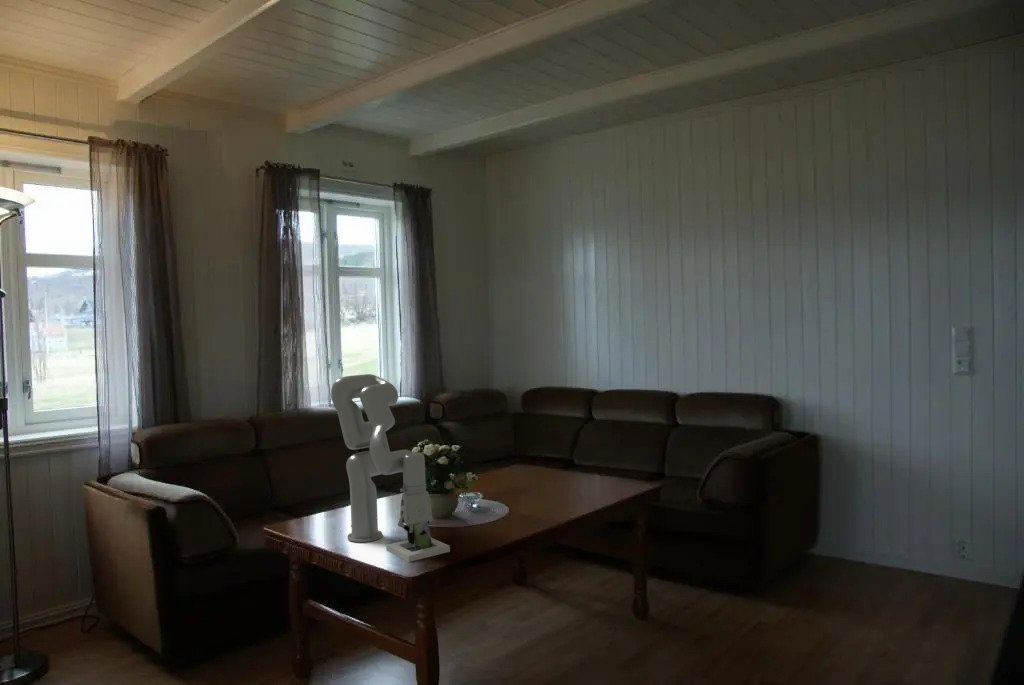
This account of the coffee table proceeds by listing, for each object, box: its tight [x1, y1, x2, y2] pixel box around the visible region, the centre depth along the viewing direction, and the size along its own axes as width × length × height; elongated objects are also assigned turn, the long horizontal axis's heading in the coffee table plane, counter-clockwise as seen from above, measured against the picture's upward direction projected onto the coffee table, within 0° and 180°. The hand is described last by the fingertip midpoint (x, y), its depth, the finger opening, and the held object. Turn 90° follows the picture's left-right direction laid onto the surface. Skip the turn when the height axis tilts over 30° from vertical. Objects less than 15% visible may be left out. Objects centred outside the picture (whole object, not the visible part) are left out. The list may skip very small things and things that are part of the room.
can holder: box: [385, 537, 451, 563], centre depth 252 cm, size 16×16×2 cm
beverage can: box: [413, 521, 432, 551], centre depth 253 cm, size 6×7×12 cm
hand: (416, 541), depth 252 cm, fingers open, 3 cm apart
